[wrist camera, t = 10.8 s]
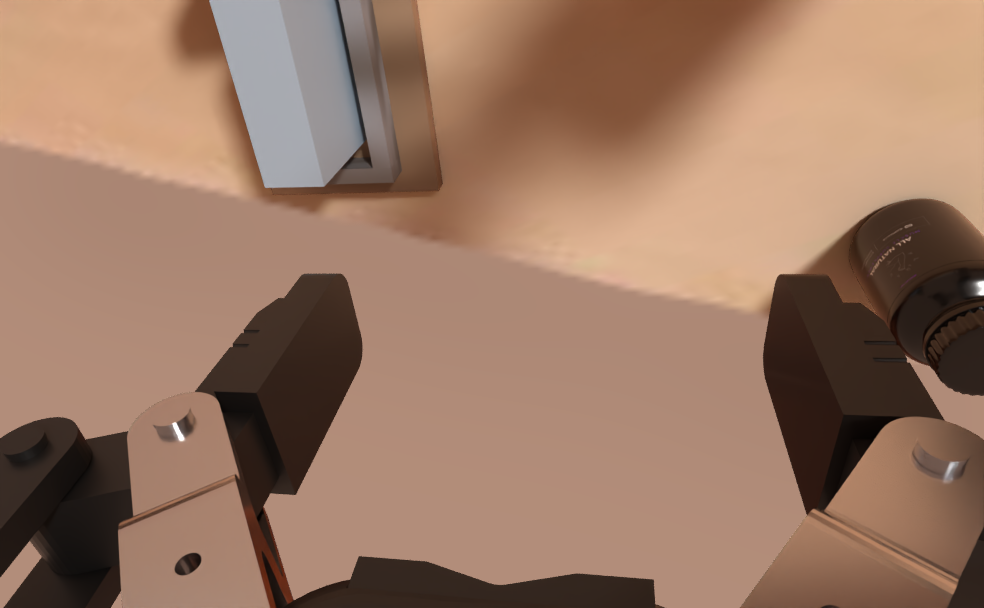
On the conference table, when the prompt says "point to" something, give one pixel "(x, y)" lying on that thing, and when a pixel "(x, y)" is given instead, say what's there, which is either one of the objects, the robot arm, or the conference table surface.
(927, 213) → the supplement bottle
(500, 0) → the conference table surface
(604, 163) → the conference table surface
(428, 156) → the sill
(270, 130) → the gray rectangular block
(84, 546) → the robot arm
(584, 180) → the conference table surface
